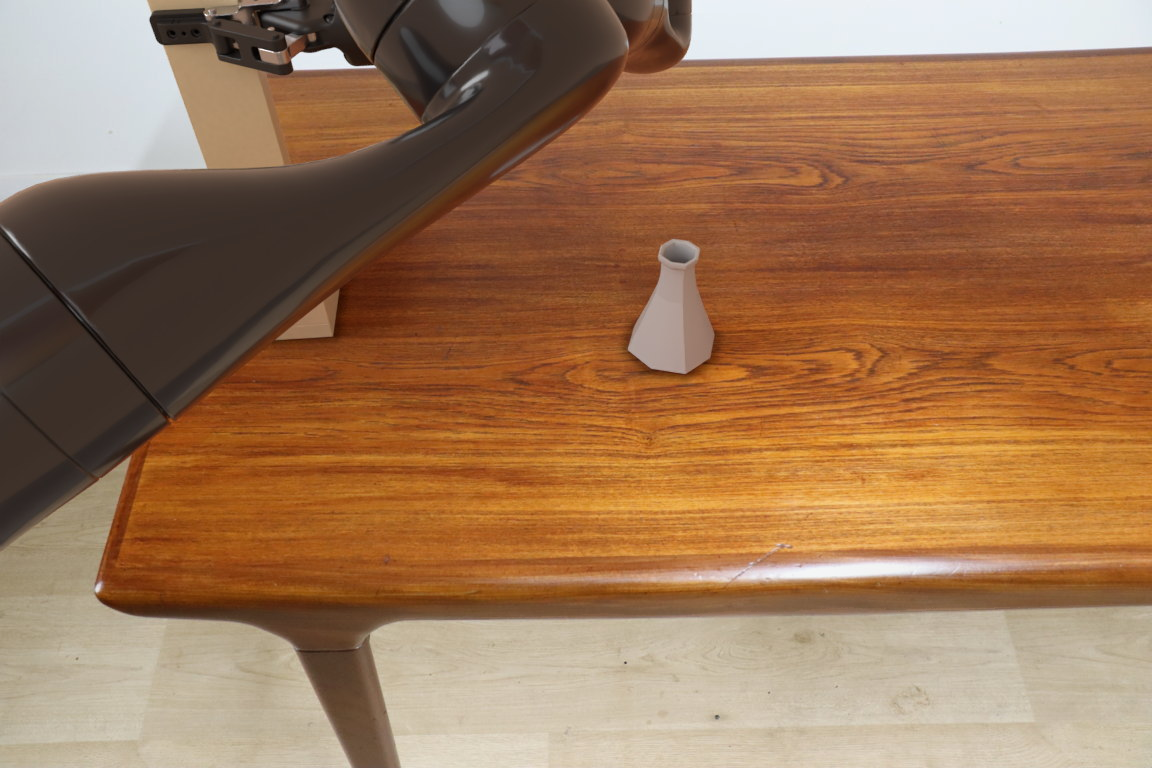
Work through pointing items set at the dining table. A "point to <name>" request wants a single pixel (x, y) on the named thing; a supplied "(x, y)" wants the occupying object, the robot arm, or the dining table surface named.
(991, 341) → the dining table surface
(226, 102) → the tall tan wooden block
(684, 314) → the flask
